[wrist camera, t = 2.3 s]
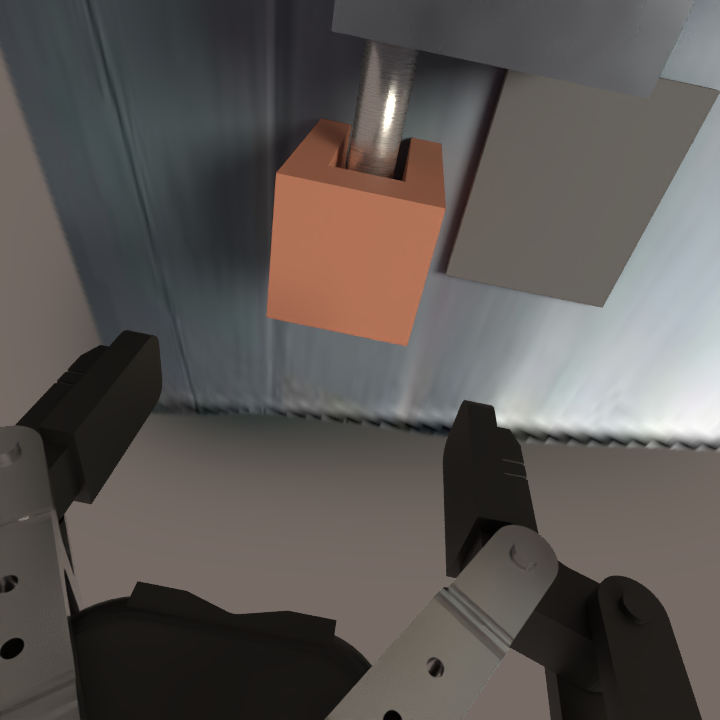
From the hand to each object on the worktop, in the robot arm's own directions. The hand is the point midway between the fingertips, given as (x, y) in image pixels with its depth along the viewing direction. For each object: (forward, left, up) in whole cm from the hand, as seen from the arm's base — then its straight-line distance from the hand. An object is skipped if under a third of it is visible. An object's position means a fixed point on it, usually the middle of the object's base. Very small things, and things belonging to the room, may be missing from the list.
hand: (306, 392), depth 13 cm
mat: (-10, -2, -17) cm, 19 cm away
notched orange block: (0, 0, -17) cm, 17 cm away
